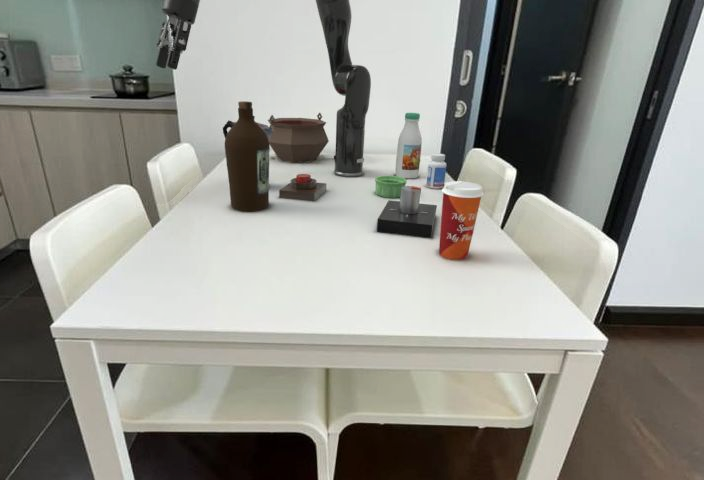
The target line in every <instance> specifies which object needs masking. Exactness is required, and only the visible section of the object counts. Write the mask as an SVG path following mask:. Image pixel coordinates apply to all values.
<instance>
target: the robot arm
mask: <svg viewBox="0 0 704 480" xmlns="http://www.w3.org/2000/svg"><path fill="white" fill-rule="evenodd" d="M200 3H201V0H163V2H162V6H161V11H162V13H163V14H164V15H166V16H167V17H168V19H167V21H166V22H165V21H163V22H162V23H161V27H160V31H159V34H158V38H157V42H156V47H157V48H158V54H157V57H156V61H155V65H156V67H158V68H161V69H166V67H167V68H169V69H172V70H175V71H176V70H177V69H178V65H179V63H180V58H181V55H182V54H183V52H185V51H186V50H187V47H188V42H189V37H190V33H191V29H192V25H194V24H195V22H196V18H197V16H198V15H197V14H198V10H199V7H200ZM315 4H316V8H317V12H318V17H319V20H320V24H321V28H322V32H323V36H324V37H323V38H324V40H325V45H326V49H327V56H328V60H329V67H330V73H331V74H330V75H331V81H332V86H333V88H334V91H336V93H337V94H338V95H340V96H343V97H345V98H344V104H343V105H342V107H340V108H339V109H337V111H336V119H335V121H336V122H335V124H336V125H335V151H334V152H335V153H334V156H333V159H334V175H337V176H341V177H360V176H362V175H363V173H364V172H363V169H364V162H365V157H364V150H365V134H366V133H365V132H366V117H367V114H368V111H369V107H370V98H371V90H372V89H371V87H372V80H371V74H370V71H369V70H368V68H367V67H366V66H364V65H361V64H353V62H352V59H351V54H350V48H349V37H350V31H351V25H352V8H351V2H350V0H315Z"/></svg>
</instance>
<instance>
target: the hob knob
mask: <svg viewBox="0 0 704 480" xmlns="http://www.w3.org/2000/svg"><path fill="white" fill-rule="evenodd" d="M421 192H422V187H419V186H414V185H405V186H403V187H402V188H401V197H400V209H399V211H400V212H401V213H404V214H417V213H418V211H419V203H420V202H421Z"/></svg>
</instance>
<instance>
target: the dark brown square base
mask: <svg viewBox="0 0 704 480" xmlns="http://www.w3.org/2000/svg"><path fill="white" fill-rule="evenodd" d="M325 192H327V183H326V182H317V179H315V178H313V177H311V182H297V181H296V177H293V178H291V179H290V182H289V183H288V184H286V185H284V186H283V187H282V188H280V189H278V198H279V199H285V200H294V201H305V202H316V201H317V200H318V199H319V198H320V197H321V196H322V195H324V194H325Z"/></svg>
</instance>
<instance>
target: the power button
mask: <svg viewBox="0 0 704 480" xmlns="http://www.w3.org/2000/svg"><path fill="white" fill-rule="evenodd" d="M295 178H296V181H297V182H311V178H312V175H311V174H310V173H298V174H296V177H295Z"/></svg>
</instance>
